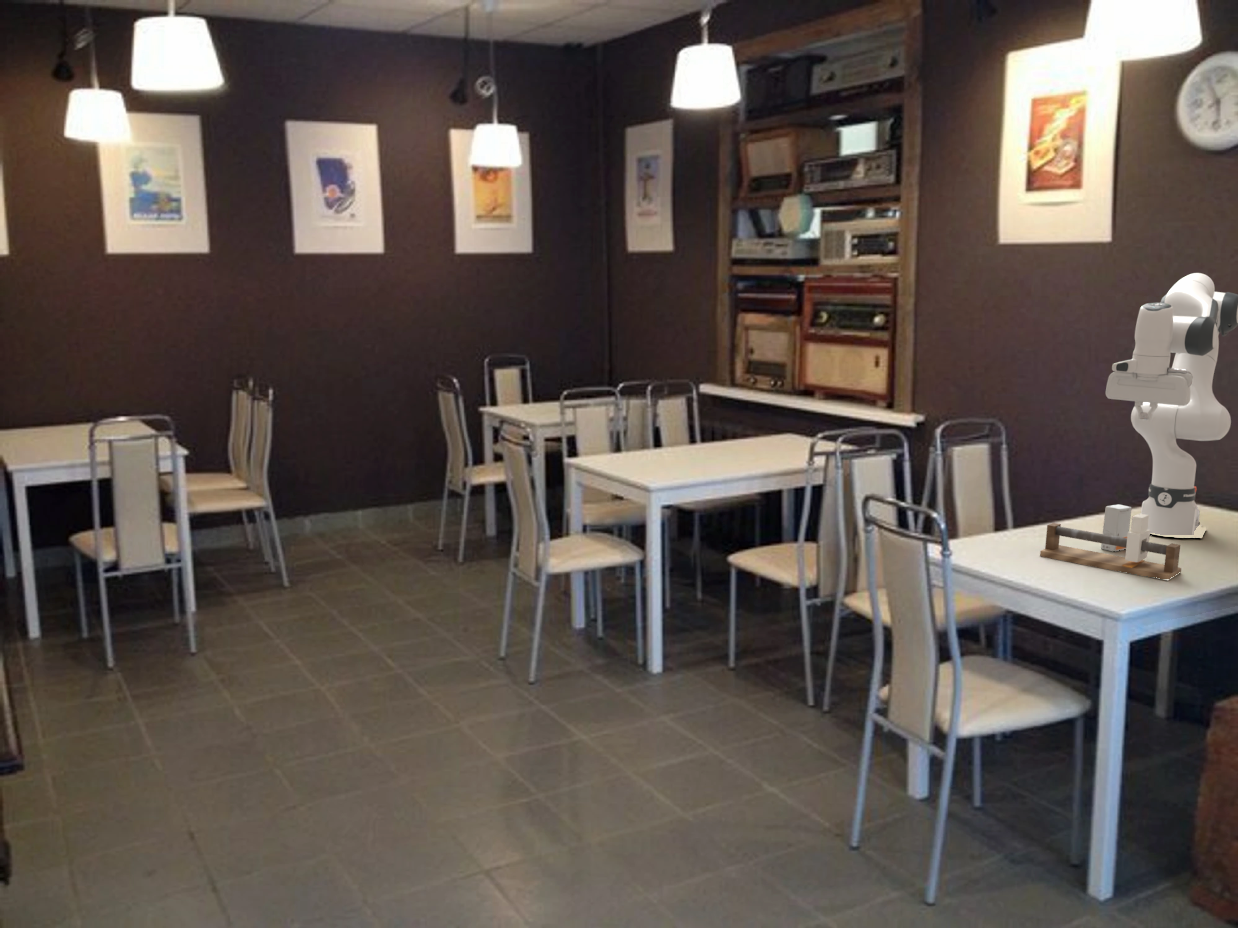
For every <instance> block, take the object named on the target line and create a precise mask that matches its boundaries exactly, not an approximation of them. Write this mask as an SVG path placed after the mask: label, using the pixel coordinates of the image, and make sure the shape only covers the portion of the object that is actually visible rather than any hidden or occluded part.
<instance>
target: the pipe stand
mask: <svg viewBox="0 0 1238 928" xmlns="http://www.w3.org/2000/svg"><path fill="white" fill-rule="evenodd" d="M1045 536H1046V537H1045V546H1044V547H1045V548H1043V549H1041V550H1040V552H1039V554H1040V555H1039V557H1041V556H1042V557H1043V558H1048V559H1052V560H1058V561H1062V562H1067V563H1072V564H1073V563H1074V564H1079V565H1083V566H1084V565H1085V566H1088V567H1094V568H1099V569H1104V570H1108V569H1109V571H1113V570H1114V571H1113V572H1118V571H1121V572H1120V573H1123V572H1127V573H1126V574H1129V573H1131V574H1130V575H1134V574H1137V575H1136V576H1139V575H1141V576H1140V577H1144V576H1148V577H1147V578H1149V577H1155V578H1156V577H1157V578H1160V579H1170V578H1171V577H1173V576H1175V575H1176V574H1178V573H1179V572H1181V573H1182V567H1180V566H1179V560H1180V550H1181V544H1178V543H1170V544H1168V545H1166V544H1163V543H1162V544H1161V543H1156V542H1150V541H1149V542H1145V541H1142V545H1141V550H1142V551H1147V552H1148V553H1153V554H1159V555H1164V557H1165V559H1164V564H1163V563H1157V562H1151V561H1146V560H1144V559H1143V560H1141V561H1139V562H1133V561H1127V560H1125V556H1124V557H1123V556H1119V555H1116V554H1115V555H1114V554H1108V553H1104V552H1098V551H1094V550H1092V551H1091V550H1087V549H1083V548H1078V547H1077V548H1076V547H1072V546H1071V547H1070V546H1067V545H1062V544H1061V545H1060V537H1065V538H1069V539H1071V538H1072V539H1077V540H1081V541H1082V540H1083V541H1087V542H1092V543H1098V544H1101V543H1103V544H1108V545H1114V546H1119V547H1125V548H1126V545H1127V538H1122V537H1117V536H1111V535H1105V534H1103V533H1100V532H1093V531H1087V530H1081V529H1075V528H1071V527H1070V528H1069V527H1064V526H1062V524H1061V523H1058V522H1052V523H1049V524H1047V525H1046V535H1045Z"/></svg>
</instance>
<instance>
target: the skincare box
mask: <svg viewBox="0 0 1238 928" xmlns="http://www.w3.org/2000/svg"><path fill="white" fill-rule="evenodd" d="M1104 509H1105V511H1104V520H1103V526H1102V528H1103V529H1102V534H1105V535H1111V536H1117V537H1122V538H1127V536H1128V532H1130V528H1131V519H1132V518H1131V517H1132V509H1133V508H1132V506H1128V505H1123V504H1112V505H1107V506H1105V508H1104ZM1100 549H1101V550H1105V551H1109V552H1113V551H1115V552H1120V551H1125V550H1124V549H1126V548H1125V547H1119V546H1114V545H1108V544H1103V543H1100ZM1119 550H1120V551H1119Z"/></svg>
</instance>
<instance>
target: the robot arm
mask: <svg viewBox="0 0 1238 928" xmlns="http://www.w3.org/2000/svg"><path fill="white" fill-rule="evenodd" d="M1215 287H1216V286H1215V284H1214V281H1213V279H1212V278H1211V277H1209V276H1208V275H1207V274H1204V273H1201V272H1193V273H1190V274H1187V275H1186V276H1184V277H1181V278H1180V279H1179V280H1178V281H1177V282H1175V283H1174V284H1173V285H1172V286H1171V288H1170V289H1169V290H1168V292H1167V293H1166V294H1165V295H1164V296H1163V297H1161V300H1160V302H1148V303H1145V304H1143V305H1141V307H1140V308H1139V310H1138V314H1137V319H1136V322H1135V323H1136V325H1135V329H1134V340H1135V341H1134V342H1135V346H1134V350H1133V352H1132V358H1131V359H1125V360H1122V361H1118V362H1115V363H1112V366H1111V370H1112V371H1113V372H1111V373H1110V374H1109V375H1108V377H1107V382H1106V386H1105V387H1106V389H1105V396H1106V397H1107V399H1109V400H1110V399H1111V400H1118V401H1120V400H1121V401H1129V402H1134V406H1133V408H1132V410H1131V414H1130V421H1131V424H1132V427H1133V428H1134V429H1135V431H1136V432H1137V433H1138V434H1140V435H1141V436H1142V438H1143V439H1144V440H1145V441H1146V443H1147V445H1148V447H1149V449H1150V452H1151V456H1152V475H1151V483H1150V484H1149V487H1148V498H1147V499H1145V500H1143V501H1142V503H1141V509H1140V514H1145V515H1149V520H1148V529H1147V530H1150V533H1155V534H1160V535H1194V531H1195V530H1196V528H1197V527H1198V526H1199V525H1200V512H1201V511H1200V509H1199V507H1198V505H1197V504H1196V501H1195V500H1196V495H1197V494H1196V493H1197V490H1198V489H1197V486H1195V481H1196V471H1197V462H1196V460H1195V458H1194V457H1193V456H1192V455H1191V454H1190V453H1188V452H1187V451H1185V450H1183V449H1181V448H1180V447H1179V445H1178V444H1177V439H1178V440H1179V439H1180V440H1188V441H1189V440H1190V441H1199V442H1209V441H1219V440H1221V439H1223V438H1224V437H1225V436H1226V435H1228V433H1229V431H1230V429H1231V425H1232V424H1231V423H1232V420H1231V419H1232V418H1231V414H1230V413H1229V411H1228V409H1227V408H1226V406H1224V405H1223V404H1221V403H1220V402H1219V401H1218V400H1217V398H1216V396H1215V394H1214V392H1213V381H1214V380H1213V379H1214V375H1215V374H1214V373H1215V369H1216V366H1217V362H1218V356H1219V347H1220V346H1219V345H1220V341H1219V340H1220V339H1219V335H1220V334H1221V337H1225V336H1227V335H1228V333H1229V332H1231V331H1233V330H1235V328H1237V327H1238V294H1237V293H1233V292H1230V291H1227V292H1222V291H1221V292H1220V291H1215ZM1171 353H1172V354H1174V358H1173V361H1172V366H1171V367H1170V363H1171Z"/></svg>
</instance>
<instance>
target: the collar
mask: <svg viewBox="0 0 1238 928" xmlns="http://www.w3.org/2000/svg"><path fill="white" fill-rule="evenodd" d="M1131 517H1132V518H1131V523H1130V530H1129V532H1128V536H1127V545H1126V550H1125V556H1124V557H1125V560H1127V561H1133V562H1139V561H1141V560H1144V559H1147V558H1148V553H1149V552H1147V551H1142V550H1141V545H1142V541H1145V542H1150V536H1151V535H1150V530H1147V529H1148V520H1149V515H1145V514H1141V513H1137V514H1135V515H1133V516H1132V515H1131Z"/></svg>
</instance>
